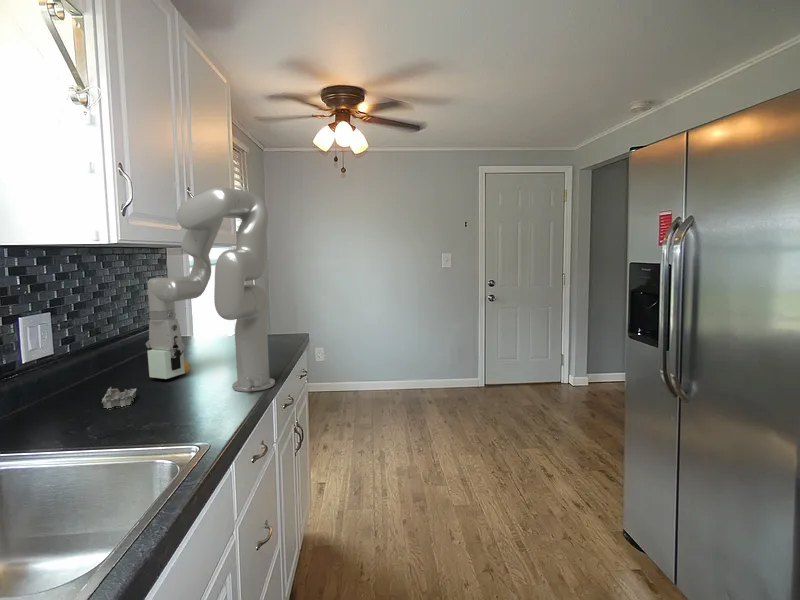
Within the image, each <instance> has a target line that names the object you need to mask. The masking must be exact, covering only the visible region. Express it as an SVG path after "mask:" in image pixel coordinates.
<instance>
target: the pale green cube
mask: <svg viewBox="0 0 800 600" xmlns="http://www.w3.org/2000/svg"><path fill="white" fill-rule="evenodd" d="M173 351H174V353H175V352H176V350H173ZM184 357H185V356H184V352H183V353H182V354H181V356H180V364H181V368H179V369H176V370H172V366H171V358H172V356H171V351H167V350H155V349H153V350H147V359H148V360H147V362H148V363H147V364H148V374H149V378H154V379H155V378H156V379H162V380H163V379H164V380H167V379H172V378H174V377H177V376H180V375H181V374H182V375H185V374H184V373H185V369H184V360H185V359H184ZM182 375H181V376H182Z"/></svg>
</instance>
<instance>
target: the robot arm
mask: <svg viewBox="0 0 800 600" xmlns="http://www.w3.org/2000/svg"><path fill="white" fill-rule="evenodd" d="M224 218H225V219H239V220H241V223H240V224H239V226H238V228H237V233H236V246H235V248H232V249H231V248H230V249H228V250H227V249H226V250H225V251H223V252H222V253H221V254H220V255H219V256H218V258H217V259H216V262H215V267H214V288H213V289H214V291H213V294H214V299H213V300H214V308H215V311H216V313H217V314H218V316H220V317H221V318H222V319H224V320H227V321H233V320H234V321H235V320H236V321H235V325H234V342H235V344H234V345H235V357H236V375H237V381H235V382H233V383H232V389H233V390H235V391H237V392H259V391H263V390H268V389H270V388H272V387H274V386H275V385H276V380H275V379H274V378H272V377H270V363H269V362H270V361H269V360H270V359H269V347H268V346H269V343H268V342H269V341H268V313H269V302H270V301H269V296H268V293H267V291H266V290H265V288H263V287H262V286H260V285H259V284H254V283H253V284H252V283H251V284H250V283H249V284H248V283H247V284H245V283H246V282H249V281H254V280H258V279H261V278H262V277H263V276H264V274H265V270H266V261H267V260H266V259H267V258H266V257H267V252H266V251H267V232H268V231H267V230H268V223H269V211H268V208H267V205H266V204H265V201H264V200H262V197H259V195H257V194H255V193H253V192H251V191H248V190H242V189H238V188H236V189H235V188H228V187H221V186H220V187H219V186H217V187H213V188H211V189H207V190H205V191H204V192H202V193H199V194H197V195H195V196H193V197H191V198H189V199H187V200H185V201H184V202H183V203H182V204H181V205H180V206H179V207H178V209H177V212H176V219H177V223H178V225H179V226H180V227H181V228H182V229H185V230H186V232H185V234H184V237H183V240H182V241H181V246H180V248H181V249H182V251H183V252H184V253H186V254H187V255H189V256H190V257H192V259H193V265H192V267H191V270H190V273H189V275H187V276H186V275H185V276H175V277H153V278H150V279H148V281H147V283H146V285H147V286H146V287H147V297H148V311H149V324H148V325H149V326H148V340H147V341H146V342H145V346H146V348H147V349H148V350H153V349H155V350H167V351H171V356H172V358H171V366H172V370H176V369H179V368H181V364H180V356H181V354H182V353H183V354H184V350H185V348H186V344H185V343H183V341H182V339H183V338H182V332H181V328H180V324H179V321H178V319H177V318H176V316H177V313H176V307H175V305H176V304H175V302H180V301H185V300H192V299H198V298H199V297H201V295H203V294H204V292H205V290H206V288H207V285H208V283H209V282H210V279H211V276H212V263H211V259H210V253H211V251H212V248H213V245H214V244H215V241H216V238H217V235H218V233H219V230H220V228H221V226H222V225H223V221H224ZM148 350H147V351H148ZM173 350H176V352H175V353H174V351H173Z"/></svg>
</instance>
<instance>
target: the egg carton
mask: <svg viewBox="0 0 800 600" xmlns="http://www.w3.org/2000/svg"><path fill="white" fill-rule="evenodd" d="M137 388H138V387H136V388H130V389H126V388H125V389H124V391H122V392H121V391H120V390H119V389H118V388H112V386H110V387H109V388H107V390H106V393H105V394H104V397H102V399H101V400H102V401H101V404H103V408H107V409H108V408H112V407H114V406H121V407H123V406H126V405H130V404H131V405H132V402H131V401H133V402H134V399H133V398H135V397H136V398H137V396H136V391H137ZM136 398H135V399H136ZM107 409H106V410H107ZM112 409H113V408H112Z"/></svg>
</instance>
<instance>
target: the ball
mask: <svg viewBox="0 0 800 600" xmlns="http://www.w3.org/2000/svg"><path fill="white" fill-rule="evenodd" d="M190 368H191V366H190V363H189V362H188V361H187V360H185V359H184V369H185V373H184V374H181V376H182V375H185V374H187V373H188V372H189V370H190Z"/></svg>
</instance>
